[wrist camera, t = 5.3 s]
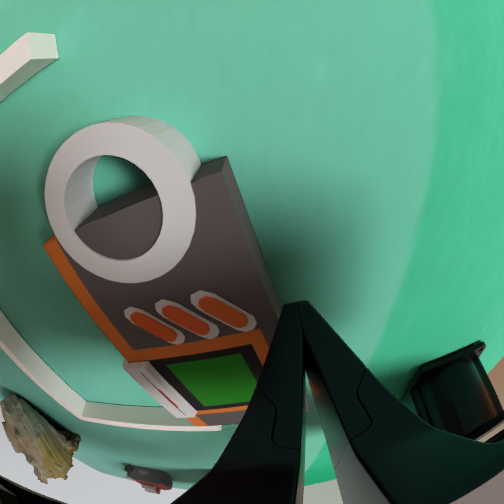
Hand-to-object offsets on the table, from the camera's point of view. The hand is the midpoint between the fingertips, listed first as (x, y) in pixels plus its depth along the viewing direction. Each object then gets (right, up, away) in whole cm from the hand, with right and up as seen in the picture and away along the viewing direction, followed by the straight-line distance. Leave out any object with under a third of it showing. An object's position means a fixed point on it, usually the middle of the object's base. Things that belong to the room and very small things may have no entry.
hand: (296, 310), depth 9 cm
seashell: (-28, -19, +14) cm, 36 cm away
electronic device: (-4, 0, +2) cm, 5 cm away
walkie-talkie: (-21, -41, +30) cm, 55 cm away
